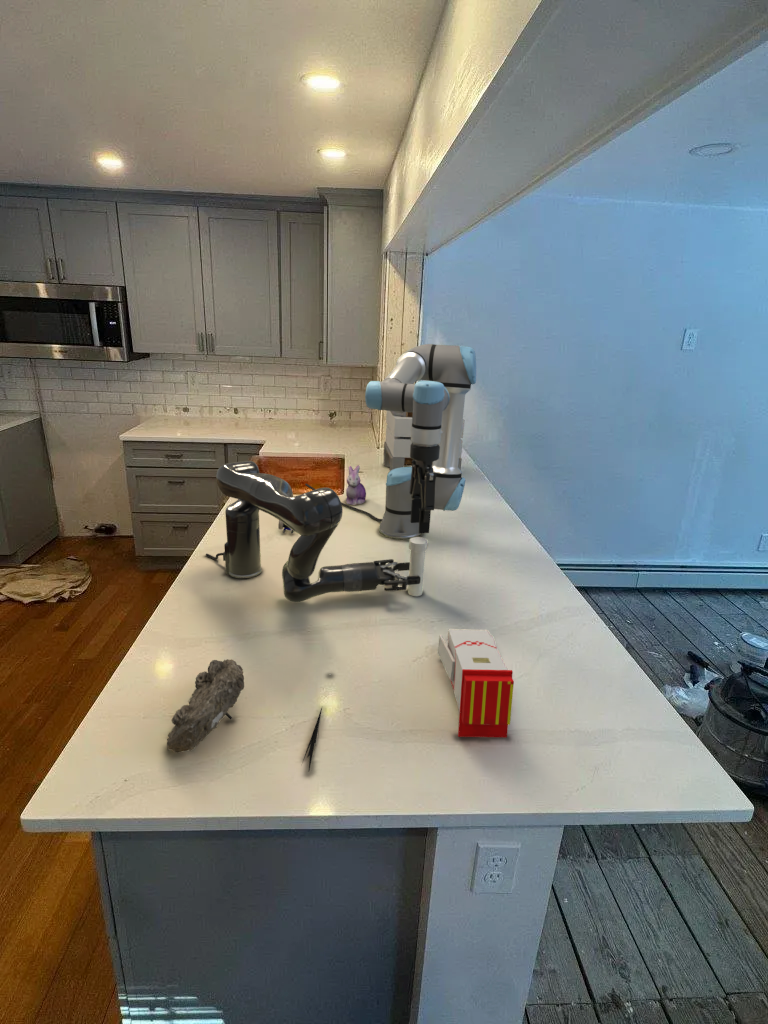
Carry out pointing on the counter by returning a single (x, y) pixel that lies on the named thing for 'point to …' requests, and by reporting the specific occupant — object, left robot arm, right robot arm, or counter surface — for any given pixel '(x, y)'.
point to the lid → (418, 544)
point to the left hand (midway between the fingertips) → (415, 572)
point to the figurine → (355, 488)
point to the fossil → (206, 705)
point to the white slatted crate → (402, 440)
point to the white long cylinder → (416, 572)
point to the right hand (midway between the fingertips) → (419, 527)
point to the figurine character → (282, 525)
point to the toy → (478, 682)
